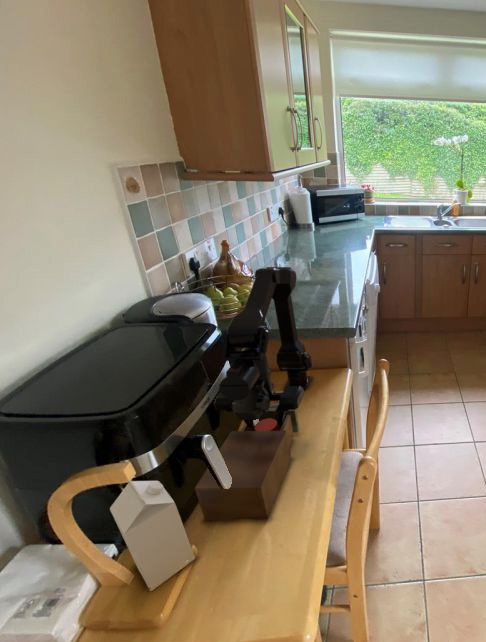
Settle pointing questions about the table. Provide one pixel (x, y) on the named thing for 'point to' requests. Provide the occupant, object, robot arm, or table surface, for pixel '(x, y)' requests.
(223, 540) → the table surface
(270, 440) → the brown wooden block
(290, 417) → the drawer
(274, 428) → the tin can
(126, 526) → the milk carton
